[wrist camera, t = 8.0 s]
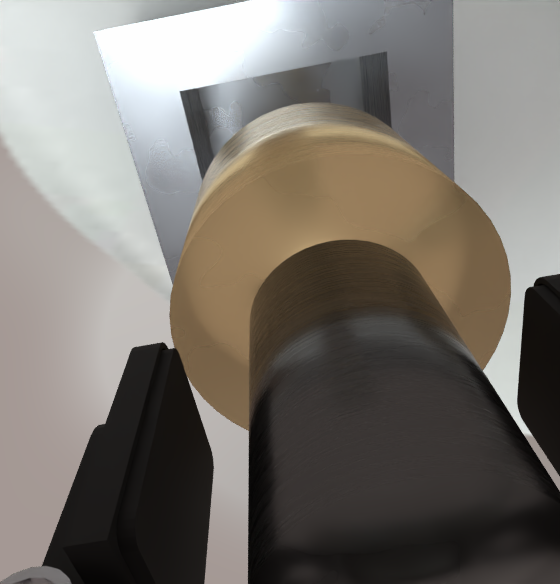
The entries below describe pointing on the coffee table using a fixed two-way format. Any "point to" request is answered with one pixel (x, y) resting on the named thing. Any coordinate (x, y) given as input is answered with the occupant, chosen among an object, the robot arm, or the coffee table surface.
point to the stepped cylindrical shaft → (360, 359)
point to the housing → (272, 83)
